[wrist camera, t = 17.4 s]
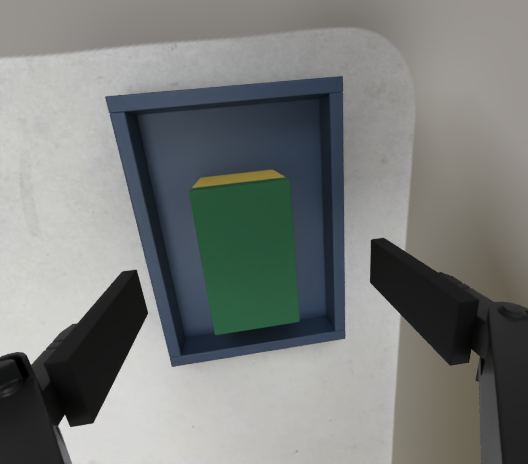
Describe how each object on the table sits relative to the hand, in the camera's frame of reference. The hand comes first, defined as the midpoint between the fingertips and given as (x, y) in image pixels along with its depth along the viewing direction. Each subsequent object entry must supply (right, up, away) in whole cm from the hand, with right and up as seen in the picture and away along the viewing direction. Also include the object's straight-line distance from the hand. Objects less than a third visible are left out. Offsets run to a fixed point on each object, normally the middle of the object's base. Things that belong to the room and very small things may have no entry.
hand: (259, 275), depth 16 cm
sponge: (-1, +3, +9) cm, 9 cm away
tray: (-1, +3, +10) cm, 10 cm away
